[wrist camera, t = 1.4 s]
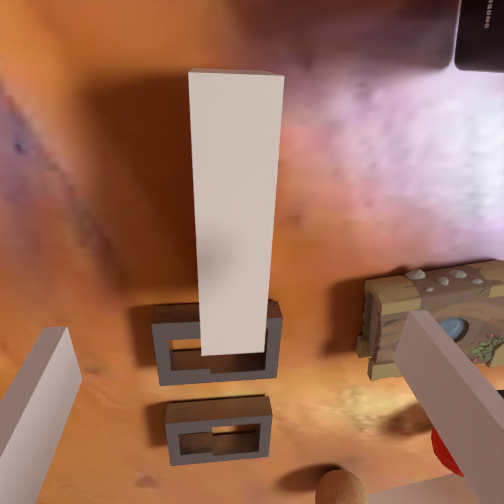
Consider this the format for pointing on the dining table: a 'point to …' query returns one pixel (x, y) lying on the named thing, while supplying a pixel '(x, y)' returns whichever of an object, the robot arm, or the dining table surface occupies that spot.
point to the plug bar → (234, 201)
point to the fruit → (340, 489)
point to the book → (436, 313)
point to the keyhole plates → (206, 371)
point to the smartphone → (480, 36)
